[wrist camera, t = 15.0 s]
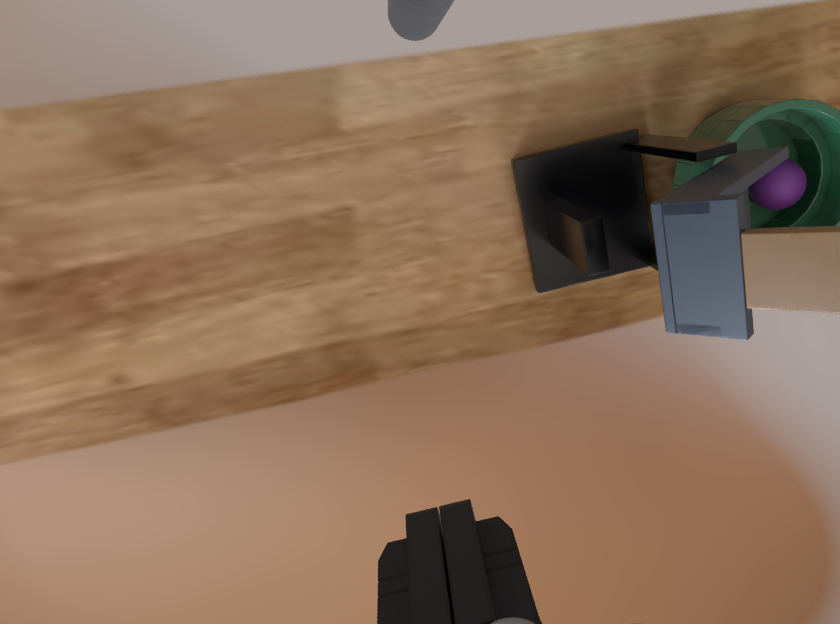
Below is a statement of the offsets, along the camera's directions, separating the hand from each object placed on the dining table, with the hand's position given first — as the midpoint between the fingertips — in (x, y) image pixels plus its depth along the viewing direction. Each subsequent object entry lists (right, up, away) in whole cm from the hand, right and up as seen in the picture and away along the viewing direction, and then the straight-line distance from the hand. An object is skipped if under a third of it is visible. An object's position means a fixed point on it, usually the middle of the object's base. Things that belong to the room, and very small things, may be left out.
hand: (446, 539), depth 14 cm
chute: (+13, +9, +17) cm, 23 cm away
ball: (+22, +13, +25) cm, 36 cm away
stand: (+11, +12, +27) cm, 32 cm away
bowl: (+20, +14, +27) cm, 37 cm away
